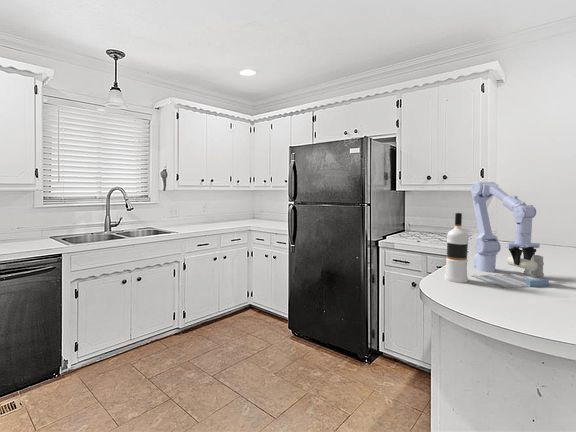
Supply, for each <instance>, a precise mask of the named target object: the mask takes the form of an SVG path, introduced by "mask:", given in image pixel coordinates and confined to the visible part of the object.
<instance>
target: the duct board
mask: <svg viewBox="0 0 576 432" xmlns="http://www.w3.org/2000/svg"><path fill="white" fill-rule="evenodd" d="M471 277H472V278H475V279H477V280H480V281H483V282H486V283H488V284H491V285H493V286H495V287H499V288H501V289H518V288H521V289H522V288H523V289H524V288H543V287H544V288H547V287H549V288H550V287H553V285H549V284H550V283H549V282H550V279H546V278H542V279H541V278H528V277H525V276H522V275H519V274H515V273H509V274H500V273H496V274H491V273H488V274H483V275H478V274H473V275H471Z"/></svg>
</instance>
